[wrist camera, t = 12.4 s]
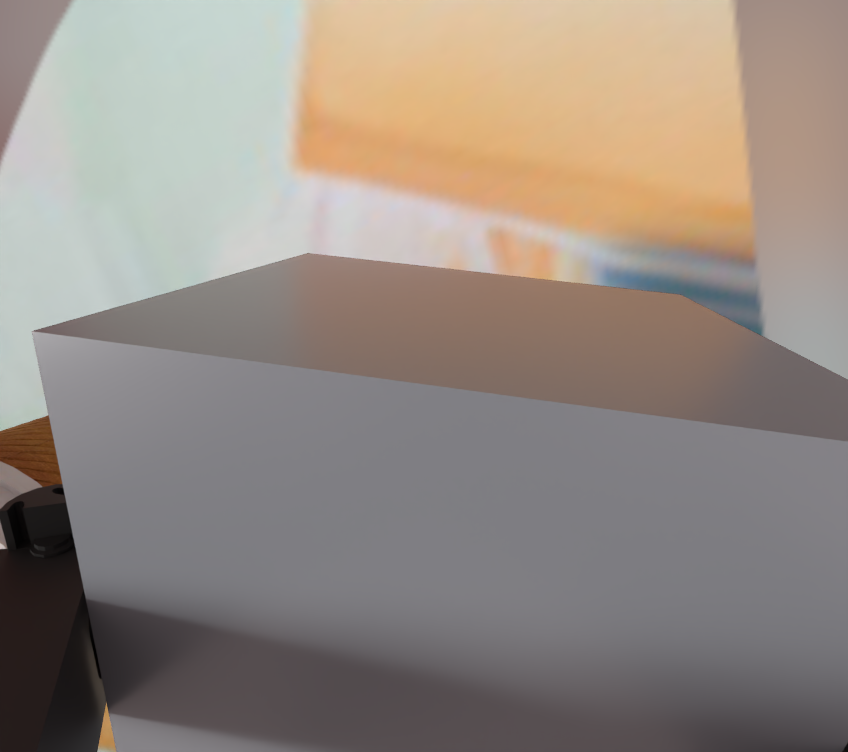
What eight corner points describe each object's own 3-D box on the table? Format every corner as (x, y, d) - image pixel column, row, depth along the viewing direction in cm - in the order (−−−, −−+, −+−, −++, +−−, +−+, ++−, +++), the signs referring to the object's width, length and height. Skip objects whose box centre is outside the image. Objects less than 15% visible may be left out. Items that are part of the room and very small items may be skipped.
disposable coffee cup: (218, 352, 25) (-2, 469, 14) (256, 507, 28) (100, 706, 17) (60, 361, 27) (-252, 475, 16) (112, 508, 30) (-117, 691, 19)
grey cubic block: (597, 594, 16) (699, 990, 8) (306, 544, 17) (137, 852, 9) (680, 294, 13) (1014, 465, 5) (307, 253, 14) (31, 331, 6)
